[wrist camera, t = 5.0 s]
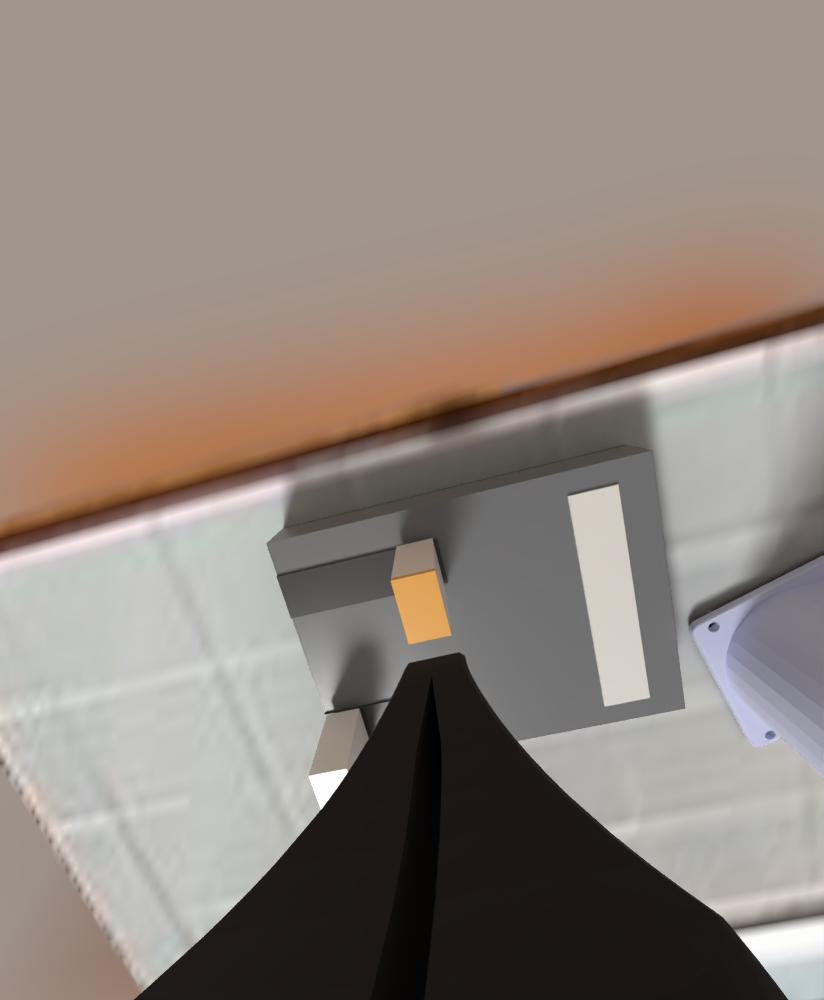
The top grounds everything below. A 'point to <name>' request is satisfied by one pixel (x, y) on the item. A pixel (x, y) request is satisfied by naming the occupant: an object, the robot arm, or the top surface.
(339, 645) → the box
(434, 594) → the breaker handle
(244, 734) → the top surface
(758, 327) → the top surface
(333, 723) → the handle
